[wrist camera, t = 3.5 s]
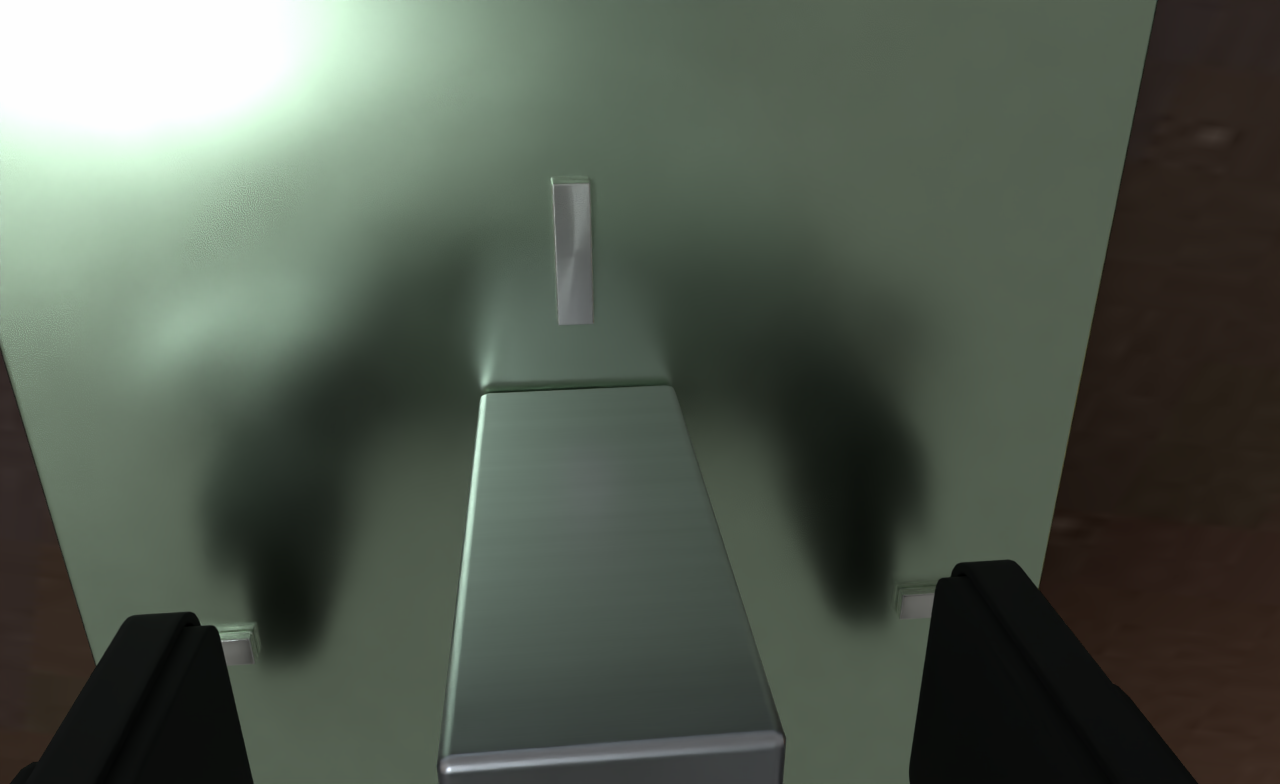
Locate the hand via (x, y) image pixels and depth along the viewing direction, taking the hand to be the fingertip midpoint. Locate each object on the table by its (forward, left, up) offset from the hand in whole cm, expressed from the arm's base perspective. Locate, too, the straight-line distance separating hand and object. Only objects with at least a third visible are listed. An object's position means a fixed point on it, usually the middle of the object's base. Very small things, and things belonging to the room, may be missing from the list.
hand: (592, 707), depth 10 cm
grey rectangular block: (0, 0, -1) cm, 1 cm away
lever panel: (0, 0, -4) cm, 4 cm away
